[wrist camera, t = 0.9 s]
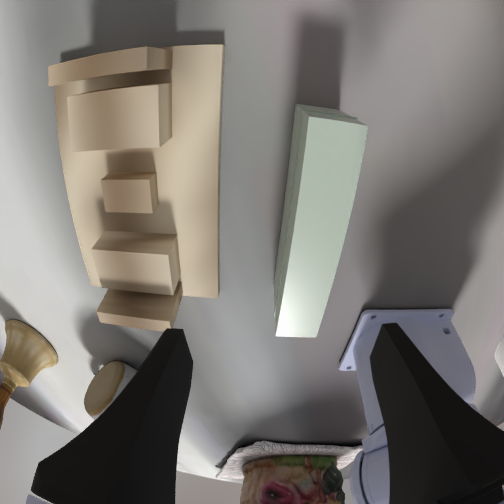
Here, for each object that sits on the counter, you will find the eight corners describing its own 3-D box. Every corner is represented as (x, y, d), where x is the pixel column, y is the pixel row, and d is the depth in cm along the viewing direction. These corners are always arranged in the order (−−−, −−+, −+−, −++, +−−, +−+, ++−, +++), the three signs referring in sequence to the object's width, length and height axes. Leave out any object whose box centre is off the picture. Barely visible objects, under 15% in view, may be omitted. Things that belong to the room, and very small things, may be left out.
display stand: (224, 45, 13) (211, 36, 9) (219, 290, 22) (211, 338, 18) (61, 66, 13) (13, 73, 9) (95, 279, 21) (71, 319, 18)
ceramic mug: (126, 347, 26) (102, 415, 20) (186, 387, 30) (174, 450, 23) (83, 370, 30) (62, 422, 24) (134, 402, 34) (120, 453, 27)
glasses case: (339, 108, 15) (369, 124, 10) (307, 284, 21) (316, 337, 17) (294, 102, 15) (307, 115, 10) (272, 282, 21) (274, 336, 17)
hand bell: (22, 355, 30) (-20, 448, 17) (-4, 312, 26) (-61, 414, 12) (67, 370, 31) (28, 477, 17) (43, 326, 26) (-15, 450, 13)
